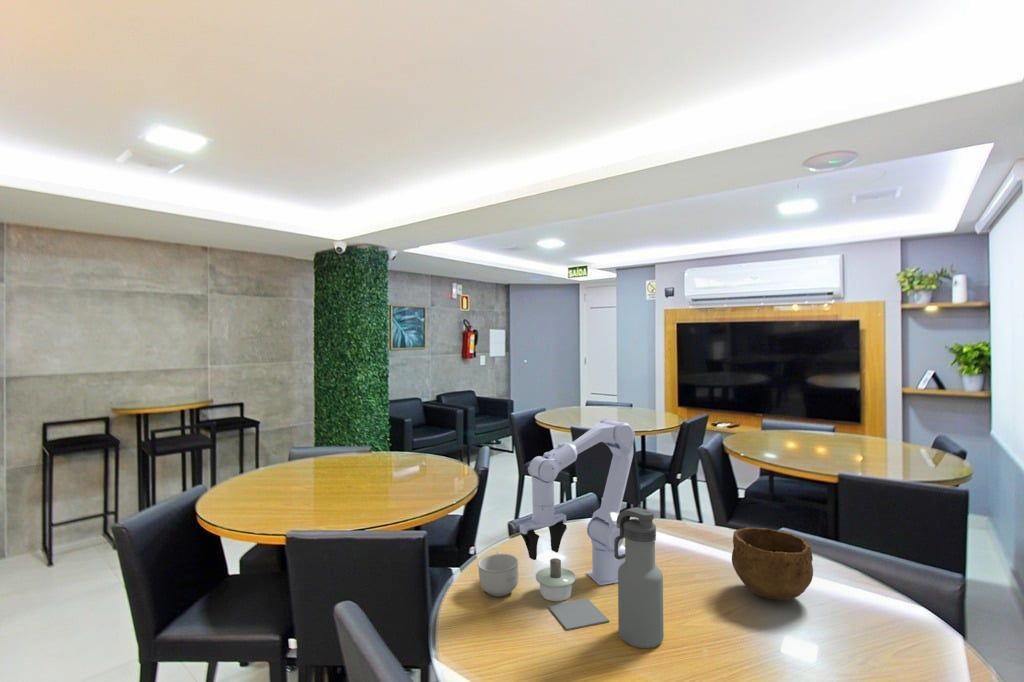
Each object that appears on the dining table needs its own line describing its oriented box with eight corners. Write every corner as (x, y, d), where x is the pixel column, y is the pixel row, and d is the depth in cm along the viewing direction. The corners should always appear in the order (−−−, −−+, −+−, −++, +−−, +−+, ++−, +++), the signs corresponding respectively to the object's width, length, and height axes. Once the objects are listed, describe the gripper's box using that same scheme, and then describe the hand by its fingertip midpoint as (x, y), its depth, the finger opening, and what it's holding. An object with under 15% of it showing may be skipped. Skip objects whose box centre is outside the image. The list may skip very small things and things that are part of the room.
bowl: (808, 586, 133) (807, 531, 134) (818, 621, 116) (817, 557, 117) (732, 573, 141) (731, 521, 142) (731, 604, 124) (730, 544, 125)
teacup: (514, 603, 125) (514, 571, 126) (473, 598, 127) (473, 567, 128) (523, 578, 139) (523, 549, 139) (486, 575, 141) (486, 546, 141)
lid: (565, 567, 136) (565, 550, 137) (582, 583, 127) (582, 565, 127) (530, 572, 133) (530, 555, 133) (544, 590, 123) (544, 571, 123)
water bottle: (607, 633, 111) (606, 509, 112) (635, 619, 117) (634, 501, 118) (644, 655, 103) (643, 521, 104) (672, 639, 109) (671, 511, 110)
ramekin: (534, 588, 133) (534, 572, 133) (565, 585, 135) (565, 569, 135) (544, 605, 124) (544, 587, 124) (577, 600, 126) (577, 583, 127)
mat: (587, 599, 127) (587, 598, 127) (609, 621, 116) (609, 620, 116) (548, 607, 123) (548, 605, 123) (566, 630, 113) (566, 628, 113)
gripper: (554, 494, 138) (554, 543, 138) (512, 504, 129) (512, 556, 129) (571, 500, 132) (572, 551, 132) (528, 511, 124) (529, 566, 123)
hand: (544, 554), depth 130 cm, fingers open, 7 cm apart
